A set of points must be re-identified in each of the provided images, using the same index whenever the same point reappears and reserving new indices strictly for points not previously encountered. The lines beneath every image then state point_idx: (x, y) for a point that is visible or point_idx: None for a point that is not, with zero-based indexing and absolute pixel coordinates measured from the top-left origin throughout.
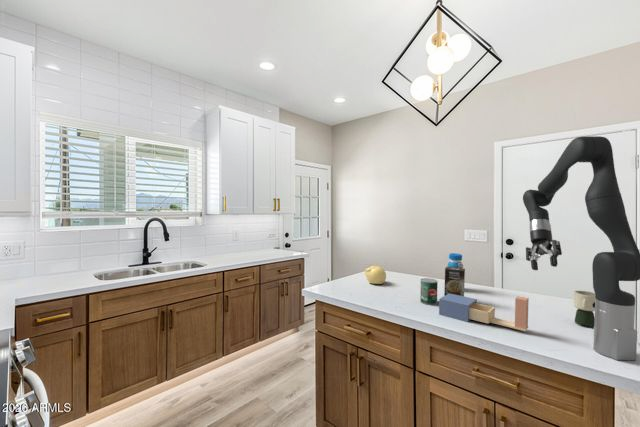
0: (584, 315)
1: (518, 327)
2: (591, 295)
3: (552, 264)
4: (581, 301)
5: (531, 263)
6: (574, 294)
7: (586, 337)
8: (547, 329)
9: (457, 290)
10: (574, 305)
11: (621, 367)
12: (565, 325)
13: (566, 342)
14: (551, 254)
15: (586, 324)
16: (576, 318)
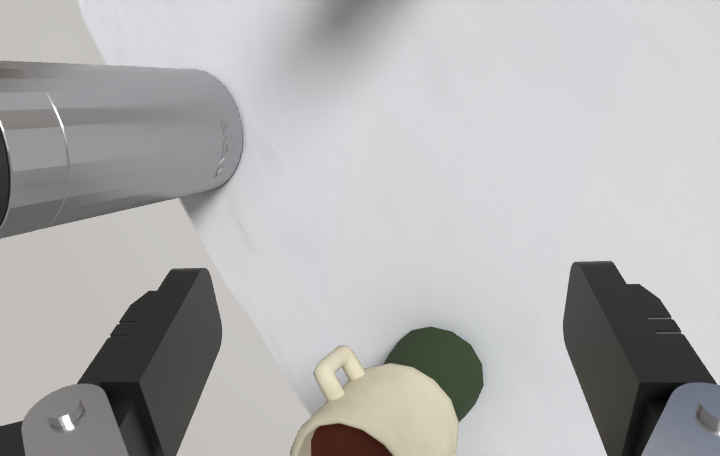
0: (392, 359)
1: None
2: (297, 446)
3: (171, 275)
4: (357, 386)
5: (687, 361)
6: (403, 434)
7: (320, 193)
8: (439, 80)
9: None
10: (428, 382)
11: (122, 40)
12: (461, 253)
13: (294, 27)
14: (46, 401)
15: (403, 339)
16: (444, 345)
